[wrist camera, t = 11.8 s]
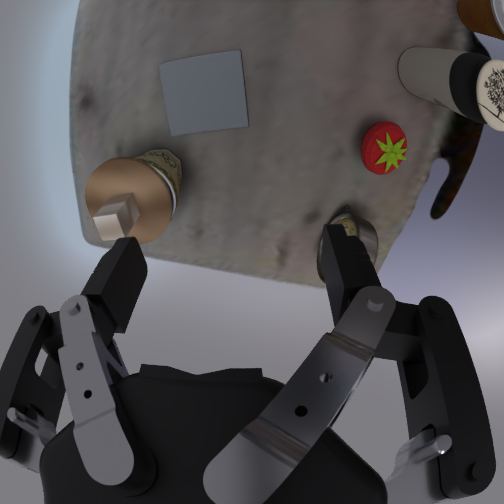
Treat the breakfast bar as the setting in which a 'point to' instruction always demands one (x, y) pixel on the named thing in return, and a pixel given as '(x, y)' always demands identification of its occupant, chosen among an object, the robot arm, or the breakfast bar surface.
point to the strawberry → (383, 147)
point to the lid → (128, 200)
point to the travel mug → (456, 82)
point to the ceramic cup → (165, 170)
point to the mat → (204, 93)
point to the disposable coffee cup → (483, 16)
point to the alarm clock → (353, 227)
